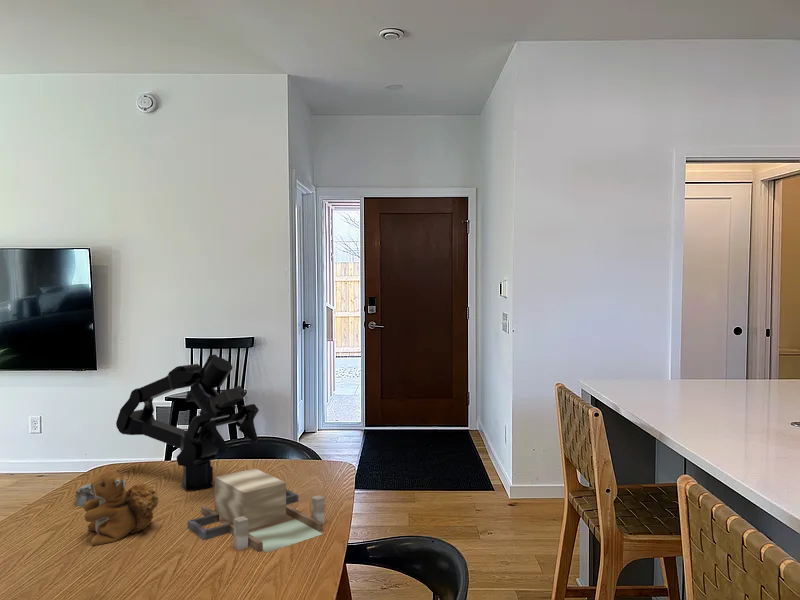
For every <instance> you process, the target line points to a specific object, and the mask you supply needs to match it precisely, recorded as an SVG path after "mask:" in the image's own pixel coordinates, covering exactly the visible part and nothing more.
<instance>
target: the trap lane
mask: <svg viewBox="0 0 800 600" xmlns="http://www.w3.org/2000/svg"><path fill="white" fill-rule="evenodd" d="M297 502H299V494H298V493H295V492H293V491H291V490H289V489H287V488H286V519H284V520H280V521H277V522H274V523H270V524H267V525H264V526H260V527H257V528H253V529H250V530H248V519H247V518H246V517H244V516H242V517H239V518H235V519H234V524H233V523H230V522H229V521H227V520H226V519H224V518H223V517H221V516H220V515H219V514H218V513H216V512H215V509H212V508H210V507H208V506H207V505H202V506H201V508H200V513H201V515H202V516H201V517H198V518H193V519H189V520H187V529H188V530H190V531H191V532H192V533H194V535H196V536H198V537H199V538H200V539H202V540H203V541H205V540H209V539H212V538H216V537H219V536H222V535H226V534H231V535H232V536H233V548H234V549H235V550H237V551H241V550H245V549H247V548H249V547H250V548H252V549H253V550H255V551H256V552H259V553H260V552H261V551H262V552H264V553H266V554H268V553H271V552H274V551H276V550H280V549H282V548H286V547H289V546H291V545H295V544H297V543H301V542H303V541H306V540H309V539H312V538H316V537H319V536H321V535H323V531H324V524H325V505H326V504H325V496H322V495H320V494H318V495H316V496H311V514H310V515H311V516H310V515H308V514H306V513H305V512H302V511H300V510H298V509H296V508H294V507H292V506H290V504H294V503H297ZM218 522H219V523H221V524H222V525H221V524H220V525H219V526H213V527H211V528H207V529H206V528H205V527H204V526H207V525H211V524H214V523H218Z"/></svg>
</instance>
